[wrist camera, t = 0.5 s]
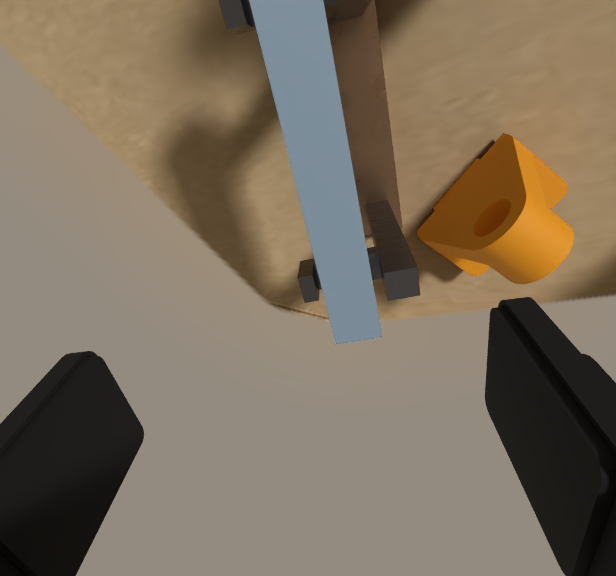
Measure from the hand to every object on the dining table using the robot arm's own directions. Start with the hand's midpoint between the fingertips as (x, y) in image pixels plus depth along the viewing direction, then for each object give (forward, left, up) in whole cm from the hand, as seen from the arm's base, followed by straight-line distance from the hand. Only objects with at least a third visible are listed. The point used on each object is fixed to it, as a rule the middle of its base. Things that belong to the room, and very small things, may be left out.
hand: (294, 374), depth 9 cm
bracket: (-14, +8, -29) cm, 33 cm away
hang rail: (-1, -2, -17) cm, 17 cm away
